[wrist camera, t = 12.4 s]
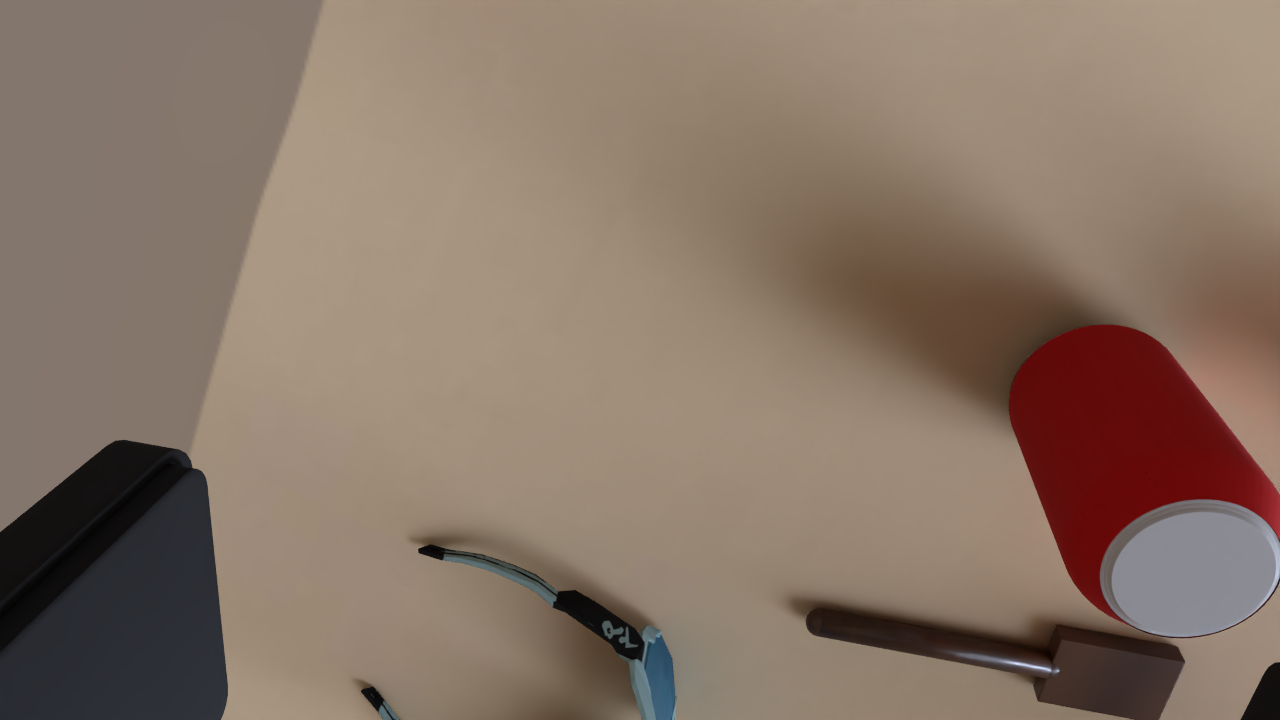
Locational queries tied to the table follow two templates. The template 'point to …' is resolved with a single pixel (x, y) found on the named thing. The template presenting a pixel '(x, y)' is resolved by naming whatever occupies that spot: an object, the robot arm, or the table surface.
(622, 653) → the sunglasses
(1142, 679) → the brown flat paddle
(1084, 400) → the beverage can
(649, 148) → the table surface
